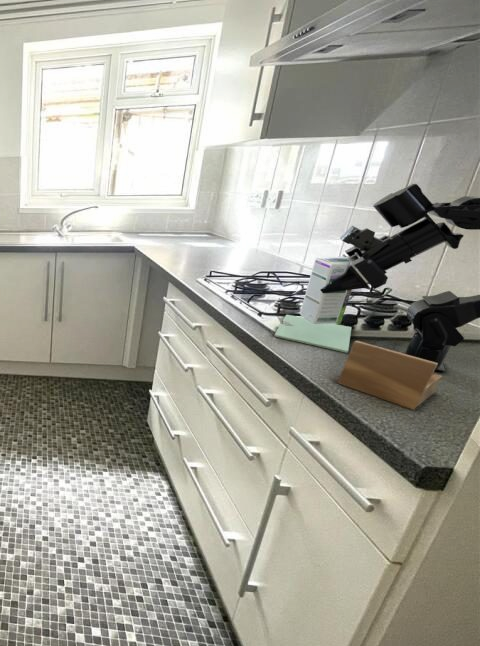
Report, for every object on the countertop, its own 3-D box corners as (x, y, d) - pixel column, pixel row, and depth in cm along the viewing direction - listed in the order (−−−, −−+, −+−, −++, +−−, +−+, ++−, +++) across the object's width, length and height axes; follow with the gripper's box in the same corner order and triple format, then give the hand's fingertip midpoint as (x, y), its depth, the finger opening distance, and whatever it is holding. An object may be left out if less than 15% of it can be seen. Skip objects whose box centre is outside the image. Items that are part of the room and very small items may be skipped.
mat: (285, 316, 117) (286, 314, 117) (350, 328, 108) (351, 327, 108) (274, 336, 103) (274, 334, 103) (347, 353, 95) (348, 351, 94)
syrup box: (313, 324, 96) (333, 263, 89) (298, 314, 101) (315, 256, 95) (340, 323, 95) (362, 262, 89) (323, 313, 100) (343, 255, 94)
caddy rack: (358, 370, 87) (375, 330, 83) (432, 394, 78) (454, 351, 74) (337, 383, 82) (354, 341, 78) (413, 410, 73) (436, 364, 69)
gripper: (372, 210, 93) (296, 253, 103) (387, 218, 79) (298, 267, 89) (406, 249, 92) (326, 289, 102) (428, 265, 78) (332, 309, 88)
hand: (320, 287), depth 96 cm, fingers closed on syrup box, 7 cm apart
